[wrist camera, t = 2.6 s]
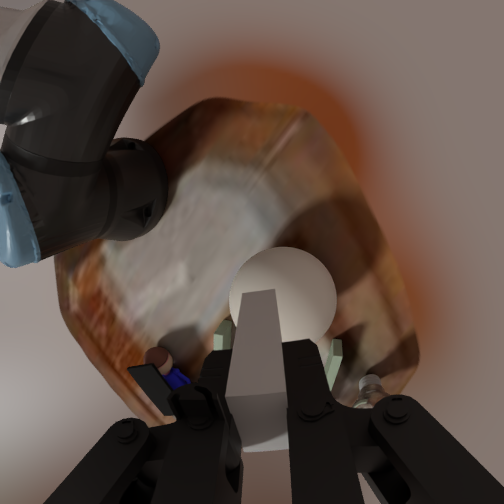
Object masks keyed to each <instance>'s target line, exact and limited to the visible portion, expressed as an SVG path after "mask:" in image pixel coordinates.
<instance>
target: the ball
mask: <svg viewBox="0 0 504 504" xmlns="http://www.w3.org/2000/svg"><path fill="white" fill-rule="evenodd" d="M269 289H275V291H276V298H277V306H278V313H279V321H280V328H281V336H282V342H289V341H295V340H302V339H310V340H311V341H313V342H314V343H315V342H317V341H318V340H319V339H320V338H321V337H322V336H323V335H324V334H325V332H326V331H327V330H328V328H329V327H330V325H331V323H332V320H333V318H334V315H335V311H336V303H337V295H336V289H335V285H334V282H333V279H332V277H331V275H330V273H329V271H328V270H327V269H326V267H325V266H324V265H323V264H322V263H321V262H320V261H319V260H318V259H317V258H316V257H314V256H313V255H311V254H309V253H308V252H306V251H303V250H300V249H297V248H292V247H275V248H271V249H267V250H264V251H262V252H259V253H257V254H256V255H254V256H253V257H251V258H250V259H249V260H248V261H246V262H245V263H244V264H243V266H242V267H241V268H240V269H239V271H238V272H237V274H236V276H235V278H234V280H233V283H232V286H231V289H230V295H229V306H230V312H231V316H232V319H233V321H234V324H235V326H236V327H237V321H238V315H239V309H240V303H241V297H242V293H246V292H254V291H262V290H269Z"/></svg>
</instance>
